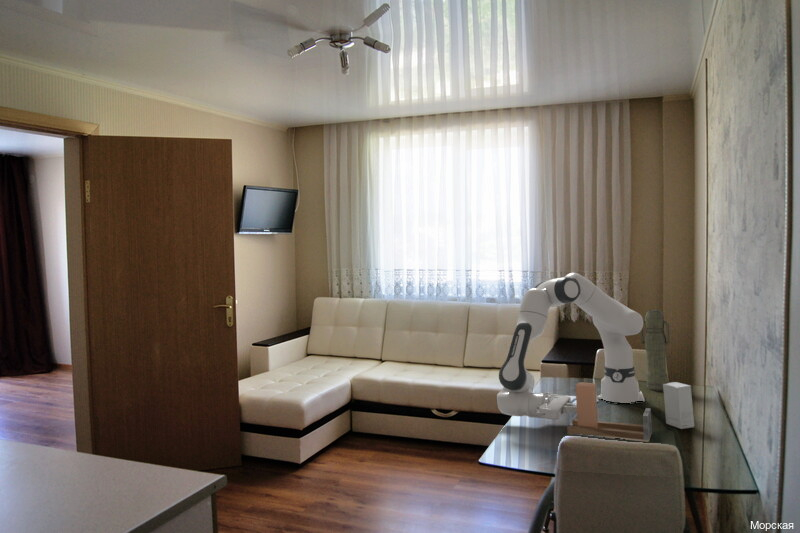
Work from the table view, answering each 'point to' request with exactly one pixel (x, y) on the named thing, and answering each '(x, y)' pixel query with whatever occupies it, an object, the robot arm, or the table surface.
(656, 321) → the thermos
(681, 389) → the skincare box
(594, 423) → the post
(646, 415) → the chute
